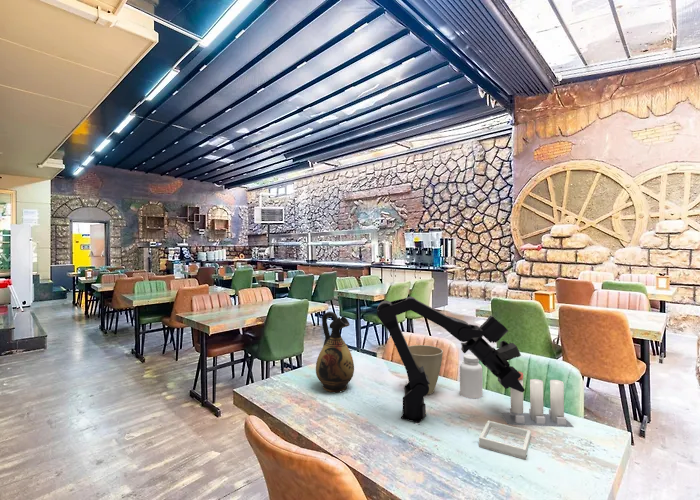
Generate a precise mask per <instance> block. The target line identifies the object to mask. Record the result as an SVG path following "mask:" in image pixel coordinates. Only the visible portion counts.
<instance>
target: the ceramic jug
mask: <svg viewBox="0 0 700 500" xmlns="http://www.w3.org/2000/svg"><path fill="white" fill-rule="evenodd" d="M328 318H332V321H331V323H329V325H328ZM321 322H322V323H321V324H322V330H323V334H324V339H325V340H324V342H323V346H322V348H321V350H320V352H319V354H318V357H317V359H316V363H315V374H316V378H317V380H318V381H319V382H320V383H321V384H322V389H323V390H324V391H325V390H326V392H330V393H331V392H335V393H341V392H340V391H342V392H344V391H343V390H345V391H346V389H347V385H349V383H350V382H351V381H352V379H353V378H354V377H353V376H354V374H355V373H354V372H355V364H354V359H353V355H352V353H351V351H350V349H349V347H348V346H347V344H346V342H345V340H344V339H343V337H342V336H341V330H342V329H344V328H347V327H349V326H350V322H349V320H348V319H347V318H346V317H345V316H342V317H338V315H337V313H335V312H333V311H327V312H325V313H324V314H323V316H322V318H321ZM329 328H330V329H331V333H330V331H329V330H330V329H329Z"/></svg>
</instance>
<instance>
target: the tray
mask: <svg viewBox="0 0 700 500" xmlns="http://www.w3.org/2000/svg"><path fill="white" fill-rule="evenodd" d="M491 428H492V429H497V430H500V431H503V432H508V433H512V434H514V435H515V434H516V435H520V436H524V437H525V438H524V441H523V445H522V447H521V446H518V445H515V444H510V443H506V442H503V441H499V440H495V439H491V438H487V435H488V433H489V431H490V429H491ZM531 433H532V432H531V430H530V429H527V428H523V427H517V426H515V425H510V424H504V423H500V422H497V421H491V420H487V422H486V423H485V425H484V427H483V429H482V432H481V433H480V435H479V437H478V447H479V448H483V449H485V450H489V451H493V452H497V453H501V454H504V455H508V456H511V457H515V458H518V459H521V460H527V456H528V454H527V453H528V448H529V444H530V440H531V438H532V437H531V435H532V434H531Z"/></svg>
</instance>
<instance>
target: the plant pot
mask: <svg viewBox="0 0 700 500" xmlns="http://www.w3.org/2000/svg"><path fill="white" fill-rule="evenodd" d="M408 347H409V349H410V351H411V354H412V356H413V358H414V360H415V362H416V364H417V365H418V367H419V368H420V367H422V366H423V367H424V371H425V373H426V375H427V376H428V378H429V382H430V384H428V386H429V392H428V394H427V395H432V394H433V393H434V391H435V389H436V386H437V384H438V381H439V376H440V372H441V367H442V362H443V353H444V350H443V349H442V348H440V347H437V346H433V345H424V344H423V345H422V344H418V345H417V344H415V345H408ZM427 395H426V396H427Z"/></svg>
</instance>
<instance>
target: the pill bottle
mask: <svg viewBox="0 0 700 500" xmlns="http://www.w3.org/2000/svg"><path fill="white" fill-rule="evenodd" d="M483 385H484V384H483V366H482V364H480V360H479V359H478V358H477V357H476V356H475V355H474V354H472V353H471V354H469V353H468V354H464V355H463V362H461V363H460V365H459V396H462V397H464V398H468V399H473V400H476V399H480V398H482V397H483V391H484V390H483Z"/></svg>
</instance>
